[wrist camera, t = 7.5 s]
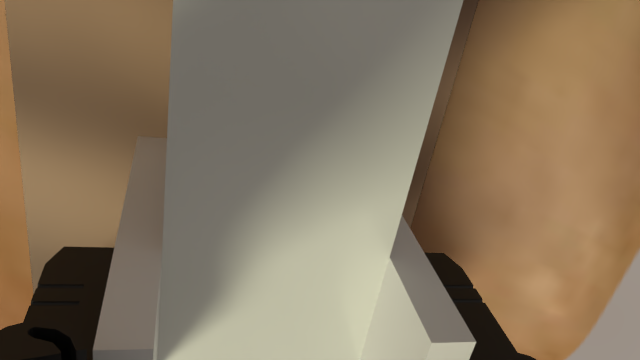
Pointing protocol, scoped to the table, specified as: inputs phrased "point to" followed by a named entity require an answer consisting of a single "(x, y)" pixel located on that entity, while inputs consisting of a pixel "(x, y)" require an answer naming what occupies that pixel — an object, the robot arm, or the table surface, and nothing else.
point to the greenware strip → (290, 169)
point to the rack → (114, 111)
